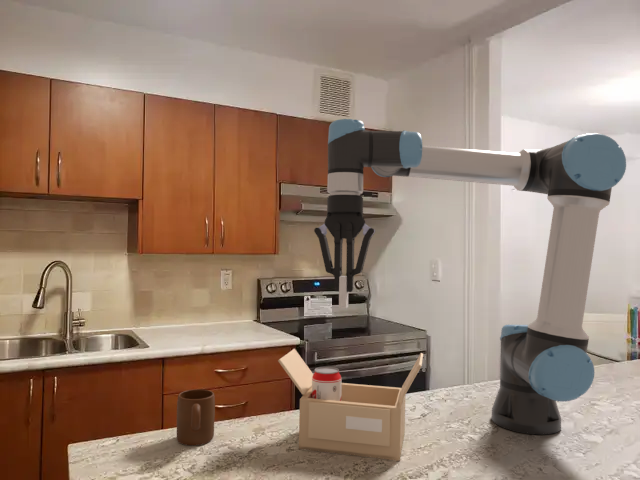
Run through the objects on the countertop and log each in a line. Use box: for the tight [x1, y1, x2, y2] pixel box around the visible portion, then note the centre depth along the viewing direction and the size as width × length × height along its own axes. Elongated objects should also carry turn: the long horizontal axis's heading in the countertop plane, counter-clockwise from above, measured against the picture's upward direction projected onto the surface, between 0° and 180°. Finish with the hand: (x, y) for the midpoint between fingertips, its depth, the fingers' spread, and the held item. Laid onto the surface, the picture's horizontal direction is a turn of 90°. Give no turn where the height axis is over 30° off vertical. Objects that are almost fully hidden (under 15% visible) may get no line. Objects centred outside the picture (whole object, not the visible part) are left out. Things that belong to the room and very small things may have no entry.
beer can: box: [312, 366, 343, 401], centre depth 107 cm, size 6×6×16 cm
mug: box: [176, 388, 216, 447], centre depth 105 cm, size 12×8×9 cm, turn 13°
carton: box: [298, 382, 406, 462], centre depth 107 cm, size 20×15×10 cm
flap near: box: [398, 352, 424, 403], centre depth 105 cm, size 8×11×1 cm
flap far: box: [277, 348, 314, 396], centre depth 110 cm, size 8×11×1 cm
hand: (343, 307), depth 108 cm, fingers closed
